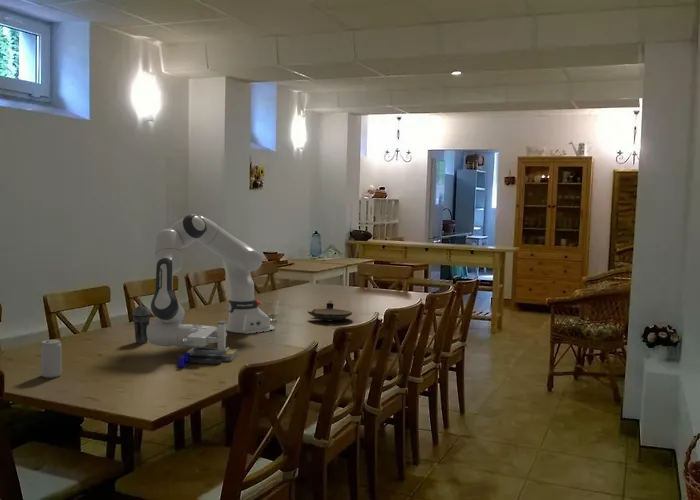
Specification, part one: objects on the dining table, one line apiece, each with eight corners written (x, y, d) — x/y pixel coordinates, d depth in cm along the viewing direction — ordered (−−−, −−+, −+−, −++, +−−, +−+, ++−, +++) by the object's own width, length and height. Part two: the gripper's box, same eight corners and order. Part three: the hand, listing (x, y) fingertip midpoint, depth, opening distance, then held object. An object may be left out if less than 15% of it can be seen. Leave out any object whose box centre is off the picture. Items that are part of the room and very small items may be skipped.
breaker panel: (183, 359, 248) (183, 350, 247) (192, 352, 260) (192, 343, 259) (230, 361, 247) (230, 352, 247) (237, 354, 259) (237, 345, 259)
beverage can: (45, 373, 225) (44, 339, 224) (64, 373, 225) (64, 339, 224) (38, 378, 218) (37, 343, 217) (57, 378, 219) (57, 343, 218)
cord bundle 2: (188, 363, 242) (188, 360, 242) (190, 361, 245) (190, 358, 245) (219, 365, 242) (220, 361, 241) (221, 363, 245) (221, 359, 244)
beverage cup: (154, 341, 276) (154, 294, 275) (143, 344, 270) (143, 297, 268) (139, 339, 279) (139, 293, 277) (128, 343, 272) (128, 295, 270)
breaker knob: (217, 352, 251) (218, 322, 250) (219, 350, 254) (219, 320, 253) (223, 352, 251) (224, 322, 250) (225, 350, 254) (226, 321, 253)
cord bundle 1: (201, 351, 262) (201, 347, 262) (203, 349, 265) (203, 345, 265) (230, 352, 262) (230, 348, 261) (232, 350, 265) (232, 347, 264)
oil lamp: (300, 322, 326) (300, 307, 326) (322, 313, 355) (322, 299, 354) (342, 326, 319) (343, 311, 319) (361, 316, 348) (361, 302, 347)
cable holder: (180, 362, 244) (180, 352, 244) (189, 363, 244) (189, 352, 244) (174, 368, 236) (174, 357, 236) (184, 368, 236) (184, 357, 236)
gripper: (180, 333, 242) (217, 334, 242) (195, 322, 263) (229, 323, 262) (180, 350, 243) (217, 351, 242) (195, 338, 263) (229, 339, 263)
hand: (223, 337), depth 252 cm, fingers open, 8 cm apart
